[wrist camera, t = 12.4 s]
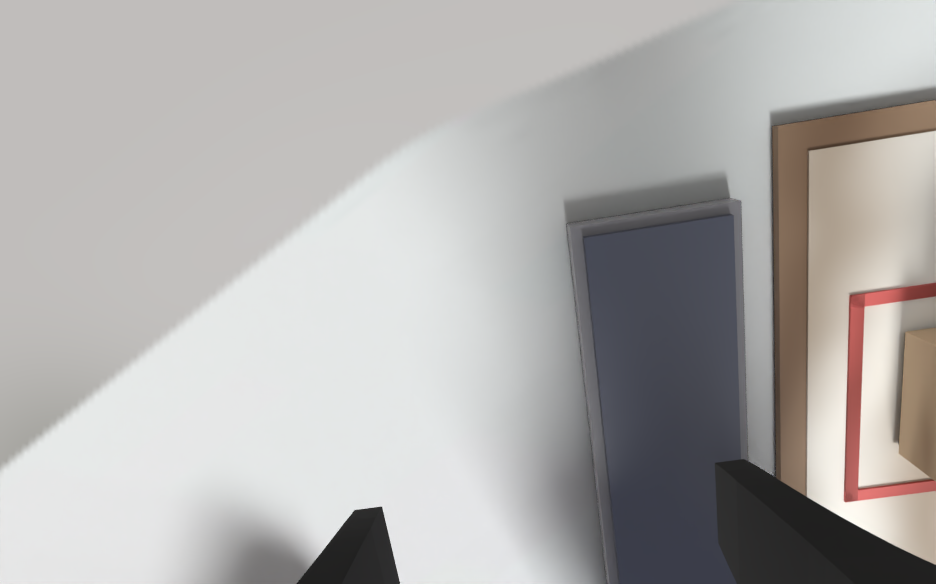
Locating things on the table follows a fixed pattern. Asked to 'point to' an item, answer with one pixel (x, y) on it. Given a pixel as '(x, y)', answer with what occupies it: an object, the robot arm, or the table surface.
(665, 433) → the ink pad
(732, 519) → the robot arm
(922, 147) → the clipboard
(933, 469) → the stamp
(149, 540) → the table surface
